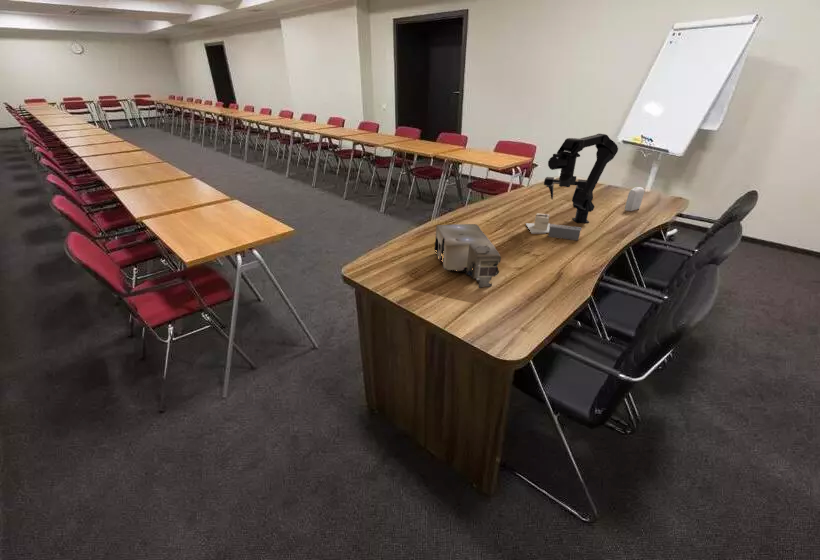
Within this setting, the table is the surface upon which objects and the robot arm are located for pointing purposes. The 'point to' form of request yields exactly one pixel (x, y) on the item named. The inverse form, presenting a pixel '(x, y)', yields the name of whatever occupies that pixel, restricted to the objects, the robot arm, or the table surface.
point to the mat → (532, 230)
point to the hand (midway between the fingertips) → (562, 200)
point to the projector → (467, 251)
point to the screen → (564, 231)
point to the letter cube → (541, 221)
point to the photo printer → (634, 199)
